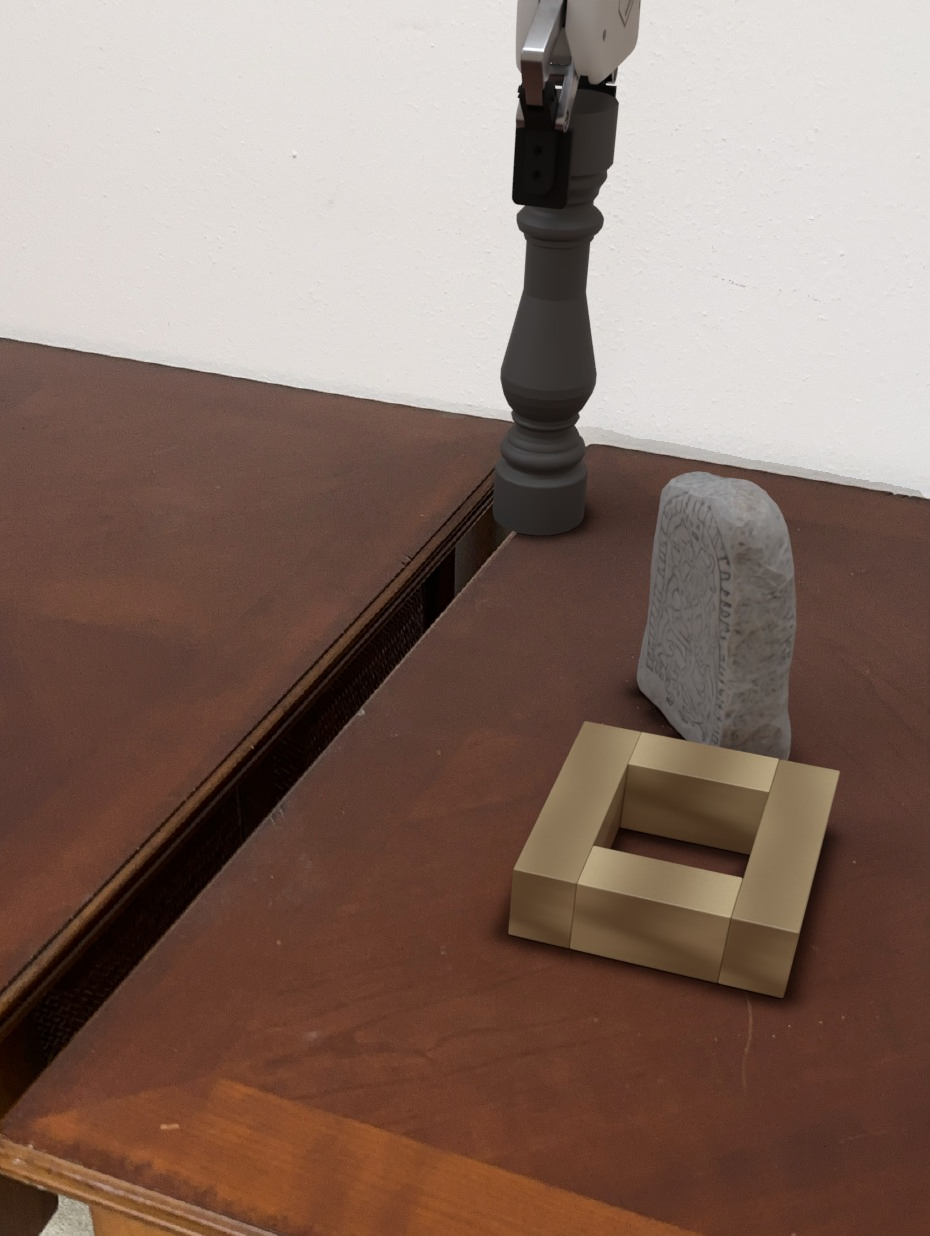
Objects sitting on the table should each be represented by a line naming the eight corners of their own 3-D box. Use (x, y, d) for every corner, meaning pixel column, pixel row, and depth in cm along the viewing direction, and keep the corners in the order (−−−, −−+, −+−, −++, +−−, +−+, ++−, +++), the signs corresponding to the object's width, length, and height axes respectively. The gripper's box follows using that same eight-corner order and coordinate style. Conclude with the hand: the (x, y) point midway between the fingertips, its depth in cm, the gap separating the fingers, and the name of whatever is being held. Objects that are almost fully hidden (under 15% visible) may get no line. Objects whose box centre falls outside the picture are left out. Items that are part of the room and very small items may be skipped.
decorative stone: (612, 689, 88) (642, 436, 78) (703, 669, 90) (745, 418, 80) (706, 793, 81) (753, 528, 71) (804, 770, 82) (864, 507, 72)
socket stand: (824, 834, 78) (840, 770, 76) (783, 999, 69) (799, 932, 67) (577, 784, 82) (584, 720, 79) (507, 934, 73) (513, 868, 70)
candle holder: (558, 543, 101) (594, 121, 84) (476, 521, 104) (495, 106, 86) (598, 507, 105) (641, 95, 88) (518, 486, 107) (544, 82, 90)
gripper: (622, -159, 71) (587, 233, 83) (697, -201, 83) (657, 148, 95) (469, -166, 73) (456, 218, 85) (563, -206, 85) (540, 136, 97)
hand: (562, 181), depth 90 cm, fingers open, 9 cm apart
